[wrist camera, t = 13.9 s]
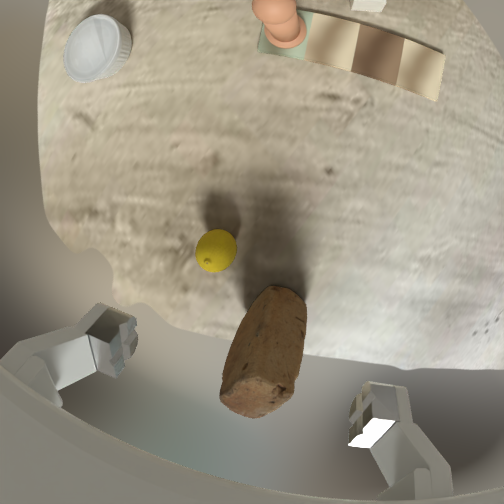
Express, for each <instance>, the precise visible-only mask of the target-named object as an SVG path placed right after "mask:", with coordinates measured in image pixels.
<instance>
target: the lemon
mask: <svg viewBox="0 0 504 504" xmlns="http://www.w3.org/2000/svg"><path fill="white" fill-rule="evenodd" d="M236 253H237V245H236V241H235V239H234V237H233V236H232V235H231V234H230V233H229V232H227V231H225V230H221V229H214V230H211V231H209V232H207V233H206V234H204V235H203V236H202V237H201V239H200V240H199V241H198V244H197V247H196V252H195V255H196V260H197V262H198V264H199V265H200V266H201V267H202V268H203V269H204V270H206V271H209V272H219V271H222V270H224V269H226V268H227V267H228V266H229V265H230V264H231V263H232V262H233V260H234V259H235V256H236Z"/></svg>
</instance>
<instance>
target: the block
mask: <svg viewBox="0 0 504 504" xmlns="http://www.w3.org/2000/svg"><path fill="white" fill-rule="evenodd" d="M306 323H307V307H306V304H305V302H304V301H303V300H302V299H301V298H300V297H299V296H298V295H297V294H296V293H294V292H293V291H291V290H290V289H288V288H285V287H284V288H281V287H277V286H269V287H267V288H266V289H265V290H264V291H263V292H262V293H261V294H260V295H259V296H258V297H257V298H256V300H255V301H254V302H253V304H252V305H251V307H250V308H249V310H248V312H247V313H246V315H245V316H244V318H243V319H242V321H241V324H240V326H239V328H238V330H237V332H236V335H235V337H234V340H233V342H232V344H231V347H230V350H229V353H228V356H227V359H226V362H225V366H224V370H223V377H222V380H223V382H222V385H221V389H220V400H221V402H222V403H223V404H224V405H225V406H227V407H228V408H229V409H230V410H231V411H233V412H235V413H237V414H240V415H242V416H246V417H249V418H260V417H263V416H265V415H267V414H268V413H271V412H273V411H275V410H276V409H278V408H279V407H280V406H281V405H282V404H284V403H285V402H286V401H288V400H289V399H290V398H291V397H292V395H293V393H294V382H295V380H296V378H297V377H298V375H299V369H300V364H301V361H302V356H303V349H304V339H305V335H306Z"/></svg>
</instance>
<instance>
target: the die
mask: <svg viewBox="0 0 504 504" xmlns="http://www.w3.org/2000/svg"><path fill="white" fill-rule="evenodd" d="M385 5H386V0H350V6H351V10H359V11H374V12H381V11H382V9H383V8H384V6H385Z"/></svg>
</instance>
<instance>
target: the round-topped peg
mask: <svg viewBox="0 0 504 504" xmlns="http://www.w3.org/2000/svg"><path fill="white" fill-rule="evenodd" d="M252 10H253V12H254V14H255V16H256V17H257V18H258V19H259V20H261V21H262V22H263V23H264V25H265V27H264V32H265V35H266V37H267V39H268V40H269V41H270V42H271V43H272V44H273V45H274V46H276V47H279V48H283V49H290V48H294V47H296V46H298V45H300V44H301V43H302V42H303V41H304V39H305V37H306V33H307V30H306V25H305V23H304V21H303V19H302V18H301V17H299V16H298V15H297V12H296V1H295V0H253V1H252Z"/></svg>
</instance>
